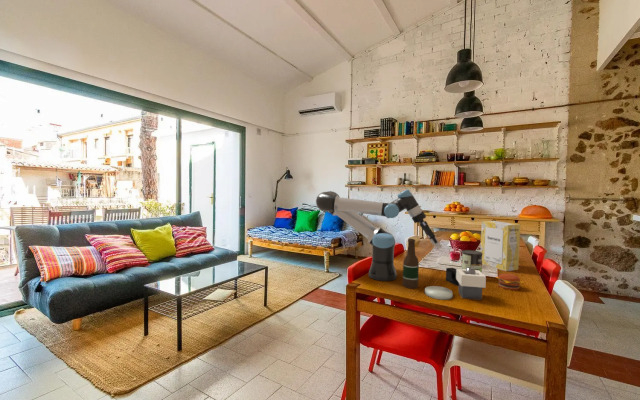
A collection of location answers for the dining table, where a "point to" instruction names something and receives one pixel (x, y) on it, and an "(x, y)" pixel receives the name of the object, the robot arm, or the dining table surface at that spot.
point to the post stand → (470, 288)
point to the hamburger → (509, 281)
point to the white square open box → (470, 278)
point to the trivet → (438, 292)
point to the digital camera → (451, 276)
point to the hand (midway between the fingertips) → (437, 246)
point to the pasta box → (500, 245)
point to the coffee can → (472, 259)
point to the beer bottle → (410, 267)
